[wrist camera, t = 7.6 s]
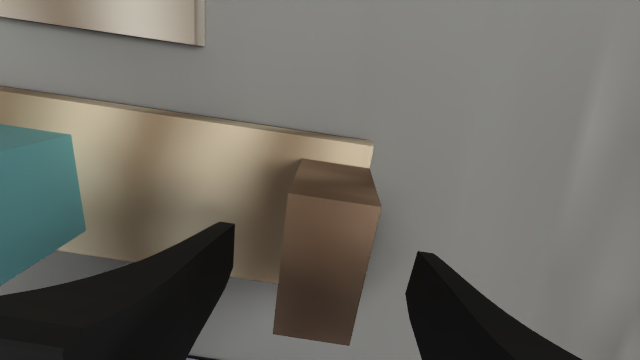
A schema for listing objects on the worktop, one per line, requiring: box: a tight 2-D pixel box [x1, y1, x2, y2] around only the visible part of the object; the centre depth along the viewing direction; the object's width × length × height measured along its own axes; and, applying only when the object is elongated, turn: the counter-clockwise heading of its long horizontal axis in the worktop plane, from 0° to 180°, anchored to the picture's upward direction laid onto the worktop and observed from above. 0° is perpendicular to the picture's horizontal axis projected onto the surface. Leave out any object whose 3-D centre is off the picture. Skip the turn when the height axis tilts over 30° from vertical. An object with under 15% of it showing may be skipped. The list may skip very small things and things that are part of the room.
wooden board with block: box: [0, 86, 381, 346], centre depth 13 cm, size 20×8×5 cm, turn 82°
